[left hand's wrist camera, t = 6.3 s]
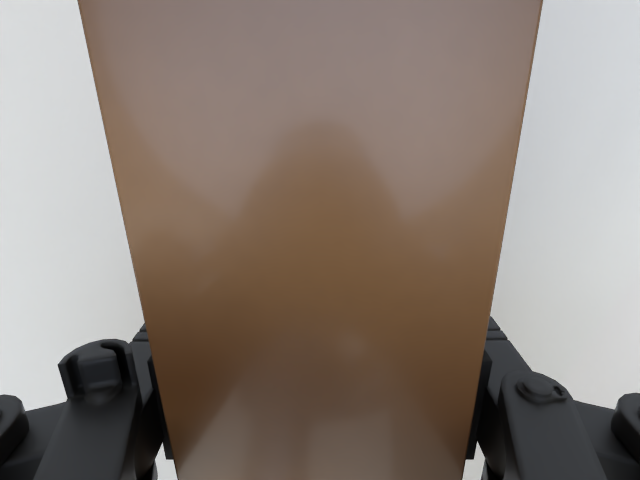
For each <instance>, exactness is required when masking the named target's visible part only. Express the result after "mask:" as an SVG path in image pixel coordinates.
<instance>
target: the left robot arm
mask: <svg viewBox="0 0 640 480" xmlns="http://www.w3.org/2000/svg"><path fill="white" fill-rule="evenodd" d="M58 368H59V371H60V374H61V378H62V381H63V384H64V388H65V391H66V395H67V398H68V399H67V401H66V402H63V403H60V404H56V405H52V406H47V407H43V408H39V409H34V410H30V411H25V410H24V407H23V404H22V401H21V400H20V399H18V398H17V397H16V396H11V395H0V480H157V477H158V475H157V467H156V462H155V458H156V456H157V453H158V451H159V449H160V447H161V444H162V442H163V446H164V451H165V456H166V459H173V454H172V450H171V445H170V440H169V435H168V430H167V426H166V421H165V416H164V411H163V407H162V402H161V397H160V392H159V387H158V383H157V378H156V373H155V368H154V364H153V359H152V354H151V349H150V344H149V340H148V335H147V330H146V325H145V323H144V325H143V326H142V327H141V329H140V332H138V333H137V334H136V335H135V337H134V338H133V341H132V342H130V343H129V344H128V343H127V342H126V341H123V340H118V339H103V340H99V341H95V342H91V343H88V344H85V345H83V346H81V347H79V348H76V349H75V350H73V351H72V352H70V353H69V354H67V355H66V356H65V357H64V358H63V359H62V360H61V361H60V363H59V364H58ZM477 441H478V443H479V445H480V448H481V450H482V452H483V454H484V456H485V462H484V467H483V472H482V477H481V480H640V393H631V394H625V395H623V396H622V397H621V398H620V399H619V400H618V403H617V405H616V408H615V410H614V409H609V408H605V407H600V406H596V405H591V404H587V403H582V402H579V401H575V400H573V398H572V397H571V395H570V394H569V392H568V391H567V390H566V388H564V387H563V386H562V385H561V384H559V383H558V382H557V381H555V380H553V379H551V378H549V377H547V376H545V375H543V374H540V373H536V372H533V371H532V370H531V369H530V368H529V366H528V365H527V364H526V362H525V361H524V360H523V358H522V357H521V356H520V354H519V353H518V352H517V350H516V349H515V348H514V346H513V345H512V343H511V342H510V341H509V340H507V337H506V335H505V334H504V333H503V331H500V327H499V326H498V325H497V323H496V322H495V321H494V319H493V318H492V317H491V316H490V318H489V324H488V330H487V335H486V341H485V347H484V353H483V359H482V365H481V371H480V377H479V383H478V389H477V395H476V401H475V407H474V412H473V418H472V424H471V430H470V436H469V442H468V448H467V454H466V459H474V455H475V449H476V444H477Z"/></svg>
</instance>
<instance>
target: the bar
mask: <svg viewBox="0 0 640 480" xmlns="http://www.w3.org/2000/svg"><path fill="white" fill-rule="evenodd" d="M542 4H543V0H78V5H79V10H80V15H81V19H82V24H83V29H84V34H85V38H86V43H87V48H88V53H89V58H90V62H91V67H92V72H93V77H94V81H95V86H96V91H97V96H98V101H99V105H100V110H101V115H102V120H103V124H104V129H105V134H106V139H107V144H108V148H109V153H110V158H111V163H112V167H113V172H114V177H115V182H116V187H117V191H118V196H119V201H120V206H121V211H122V215H123V220H124V225H125V230H126V234H127V239H128V244H129V249H130V254H131V258H132V263H133V268H134V273H135V277H136V282H137V287H138V292H139V297H140V301H141V306H142V311H143V316H144V320H145V325H146V330H147V335H148V340H149V344H150V349H151V354H152V359H153V364H154V368H155V373H156V378H157V383H158V387H159V392H160V397H161V402H162V407H163V411H164V416H165V421H166V426H167V430H168V435H169V440H170V445H171V450H172V454H173V459H174V464H175V469H176V473H177V478H178V480H462V478H463V472H464V466H465V460H466V454H467V448H468V442H469V436H470V430H471V424H472V418H473V412H474V407H475V401H476V395H477V389H478V383H479V377H480V371H481V365H482V359H483V353H484V347H485V341H486V335H487V330H488V324H489V318H490V312H491V306H492V300H493V294H494V288H495V282H496V276H497V270H498V264H499V258H500V253H501V247H502V241H503V235H504V229H505V223H506V217H507V211H508V205H509V199H510V193H511V187H512V182H513V176H514V170H515V164H516V158H517V152H518V146H519V140H520V134H521V128H522V122H523V116H524V110H525V105H526V99H527V93H528V87H529V81H530V75H531V69H532V63H533V57H534V51H535V45H536V39H537V33H538V28H539V22H540V16H541V10H542Z"/></svg>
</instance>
